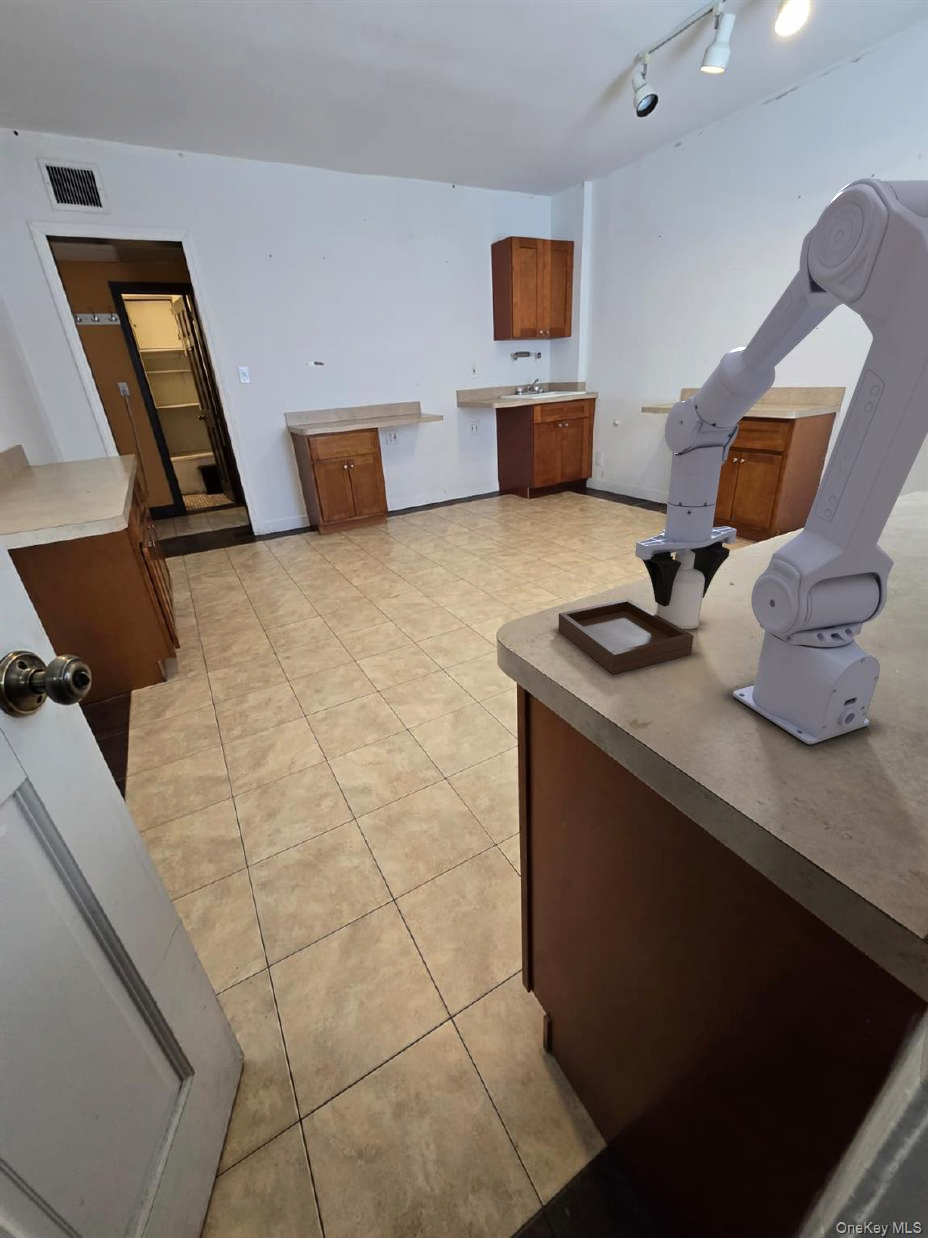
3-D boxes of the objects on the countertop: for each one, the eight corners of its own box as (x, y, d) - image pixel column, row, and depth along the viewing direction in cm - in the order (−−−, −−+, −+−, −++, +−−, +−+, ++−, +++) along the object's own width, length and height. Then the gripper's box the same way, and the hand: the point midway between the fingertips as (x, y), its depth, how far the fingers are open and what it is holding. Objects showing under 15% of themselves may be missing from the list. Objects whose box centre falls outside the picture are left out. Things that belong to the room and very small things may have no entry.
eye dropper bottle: (689, 635, 70) (700, 550, 65) (650, 624, 73) (658, 543, 68) (702, 624, 72) (714, 542, 67) (664, 614, 76) (673, 535, 71)
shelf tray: (691, 654, 65) (694, 635, 64) (612, 674, 62) (614, 655, 61) (627, 615, 77) (628, 598, 76) (558, 630, 74) (558, 613, 73)
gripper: (713, 490, 71) (701, 581, 77) (624, 503, 67) (618, 599, 73) (755, 499, 65) (738, 597, 71) (659, 514, 61) (649, 617, 67)
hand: (679, 599), depth 71 cm, fingers closed on eye dropper bottle, 5 cm apart
